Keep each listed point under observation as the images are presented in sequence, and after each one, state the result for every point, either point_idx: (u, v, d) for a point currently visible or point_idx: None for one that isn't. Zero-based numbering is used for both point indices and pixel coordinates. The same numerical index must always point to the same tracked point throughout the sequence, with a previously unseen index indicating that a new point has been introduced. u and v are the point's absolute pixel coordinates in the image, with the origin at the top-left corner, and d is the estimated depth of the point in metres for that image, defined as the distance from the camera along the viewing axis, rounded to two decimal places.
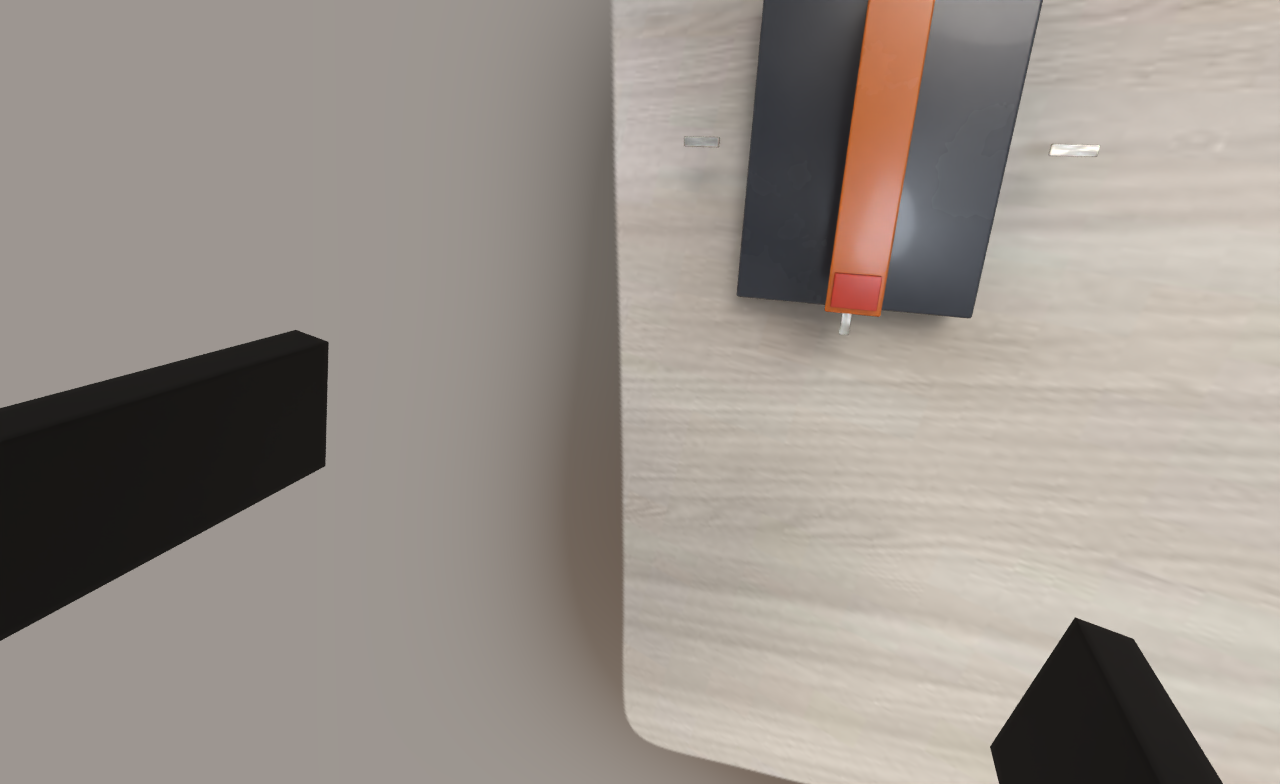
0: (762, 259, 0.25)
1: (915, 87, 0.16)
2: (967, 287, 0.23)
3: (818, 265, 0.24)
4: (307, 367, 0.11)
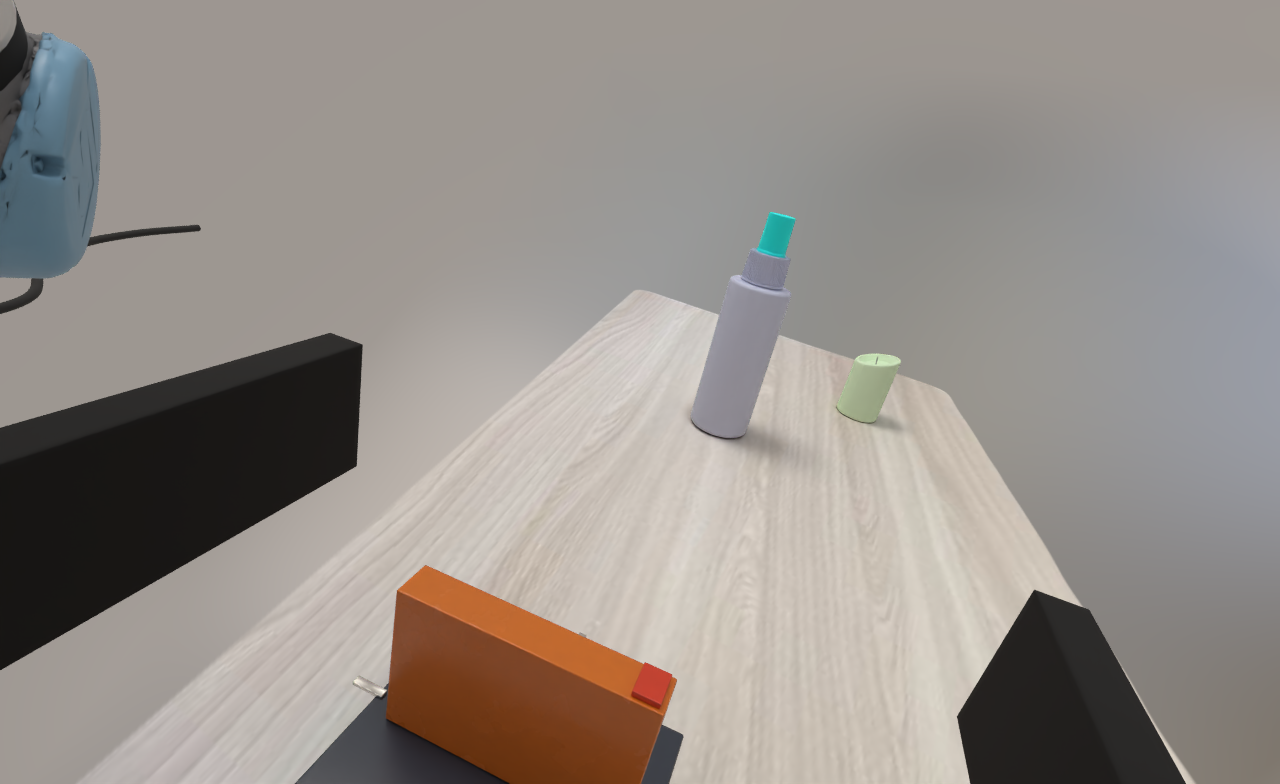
0: None
1: (516, 607, 0.22)
2: None
3: None
4: (342, 369, 0.11)
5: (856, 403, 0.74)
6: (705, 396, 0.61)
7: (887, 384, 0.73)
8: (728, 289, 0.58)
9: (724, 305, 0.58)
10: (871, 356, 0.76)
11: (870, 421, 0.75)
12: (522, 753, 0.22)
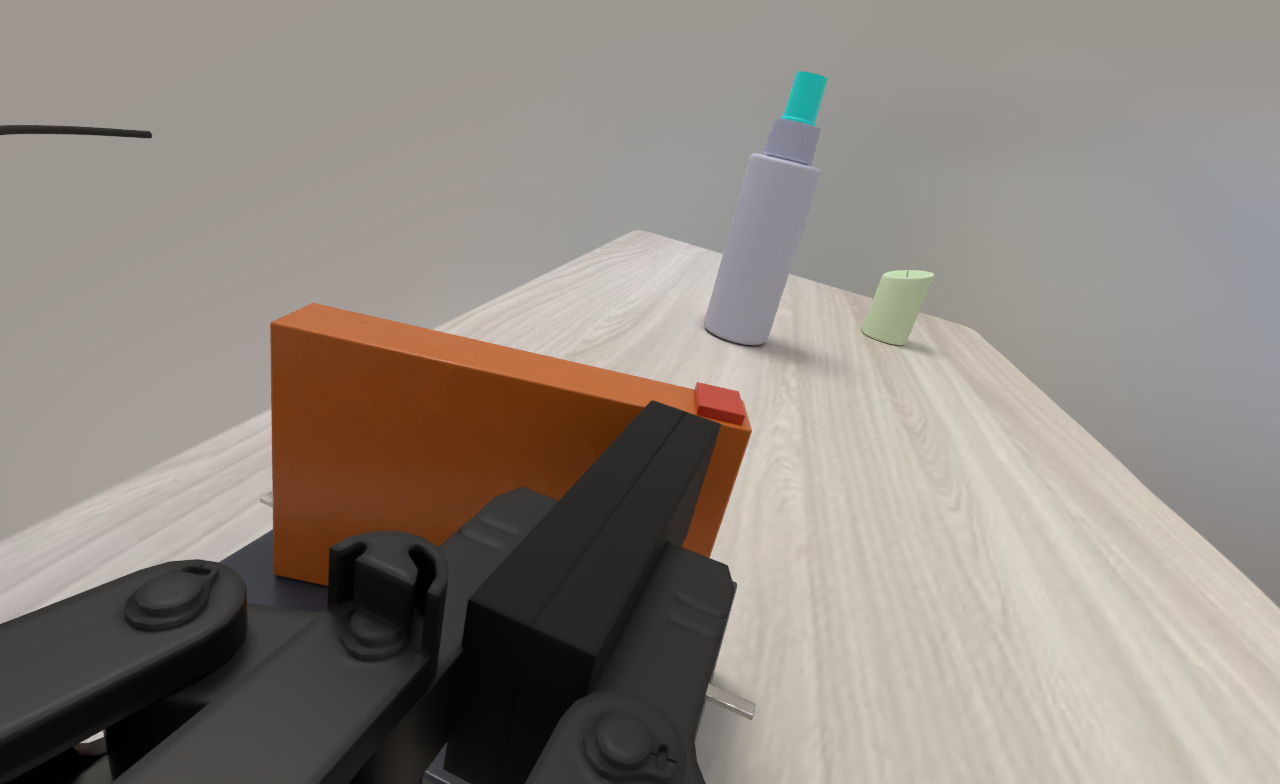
0: None
1: (482, 341, 0.14)
2: None
3: None
4: None
5: (884, 323, 0.67)
6: (721, 295, 0.53)
7: (919, 300, 0.66)
8: (748, 167, 0.51)
9: (744, 186, 0.51)
10: (900, 272, 0.69)
11: (900, 343, 0.68)
12: None
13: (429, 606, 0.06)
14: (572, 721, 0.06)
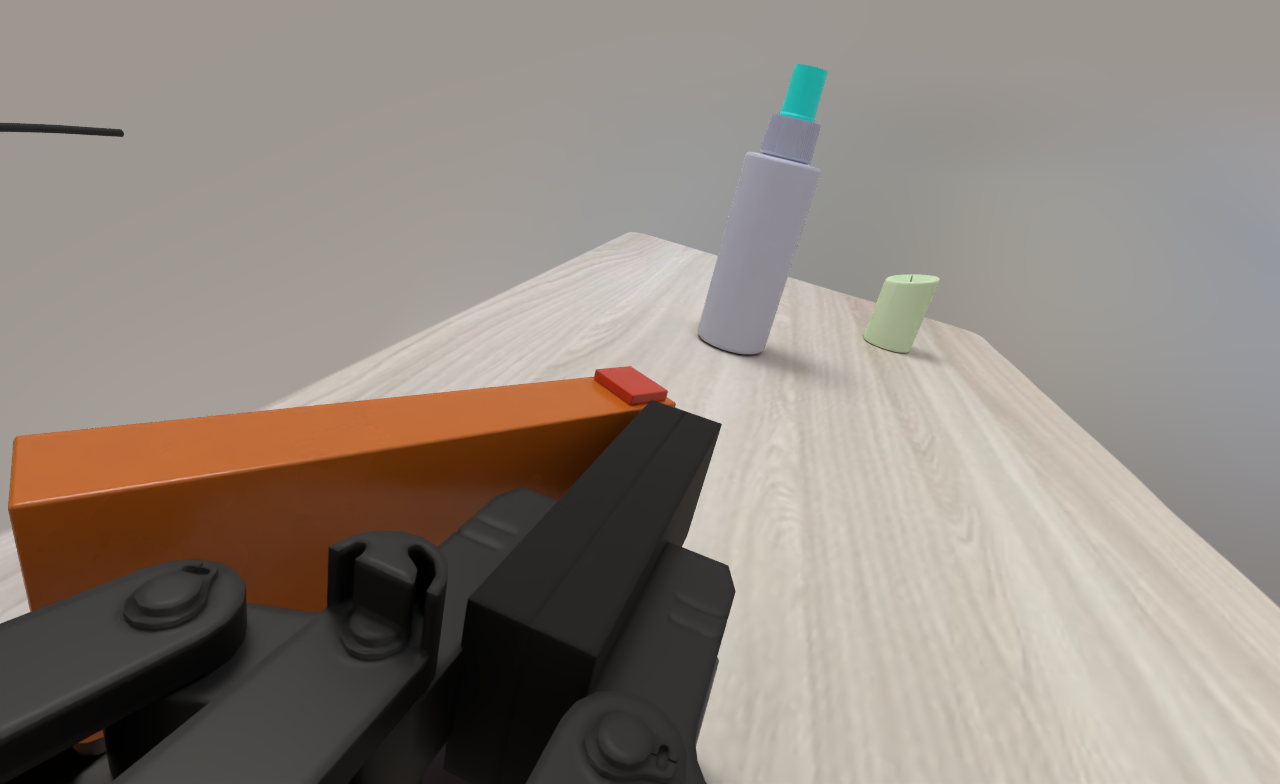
0: None
1: (352, 402, 0.10)
2: None
3: None
4: None
5: (887, 329, 0.64)
6: (715, 302, 0.51)
7: (924, 306, 0.63)
8: (744, 166, 0.48)
9: (739, 186, 0.48)
10: (903, 277, 0.66)
11: (903, 351, 0.65)
12: None
13: (429, 606, 0.06)
14: (573, 721, 0.06)
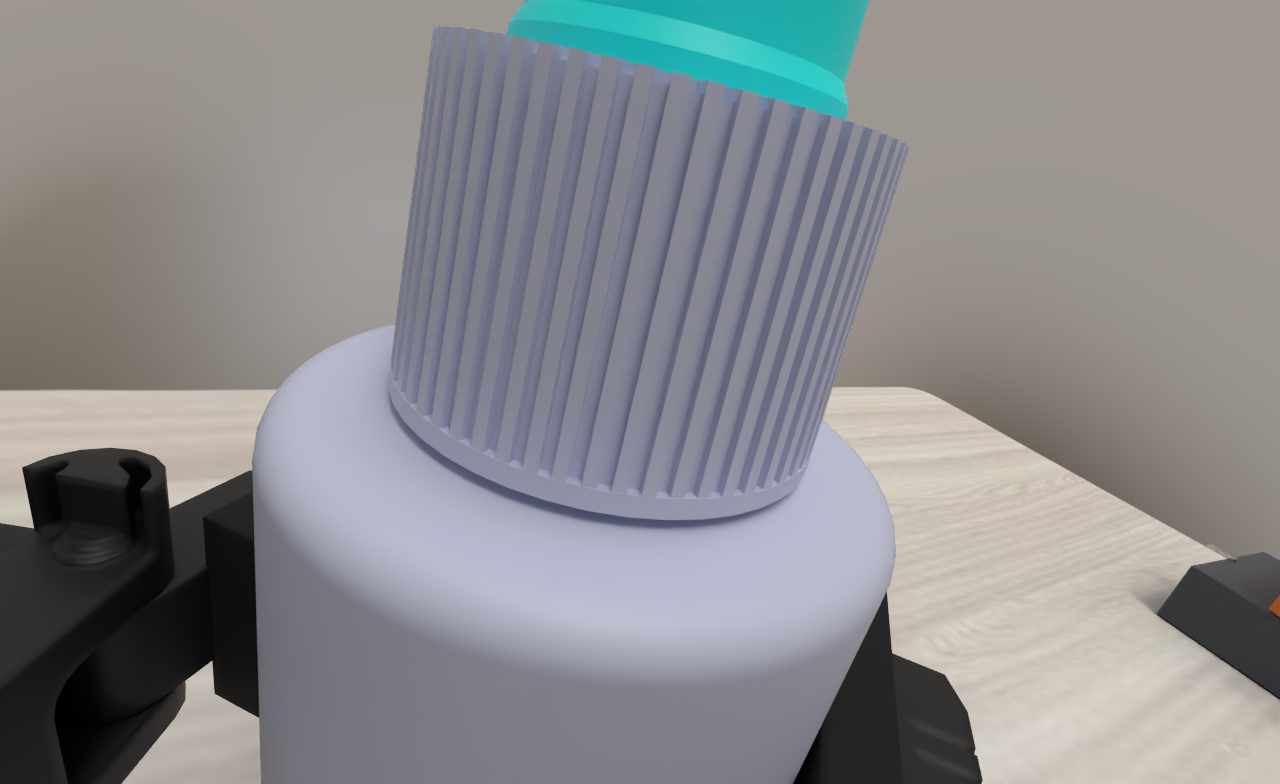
0: None
1: None
2: (1219, 579, 0.32)
3: (1272, 574, 0.35)
4: None
5: None
6: None
7: None
8: (832, 688, 0.05)
9: None
10: None
11: None
12: None
13: (146, 504, 0.06)
14: None
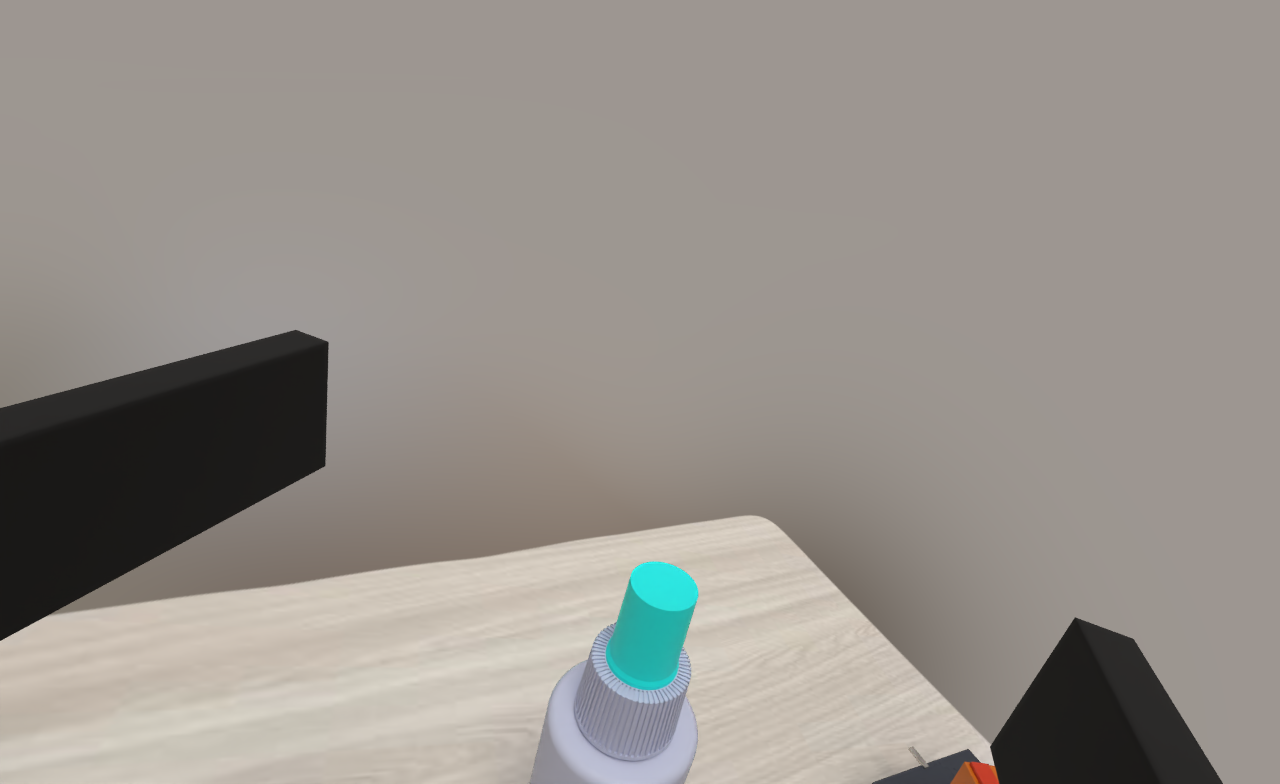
0: None
1: None
2: None
3: None
4: (307, 367, 0.11)
5: None
6: None
7: None
8: None
9: None
10: None
11: None
12: None
13: None
14: None
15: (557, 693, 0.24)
